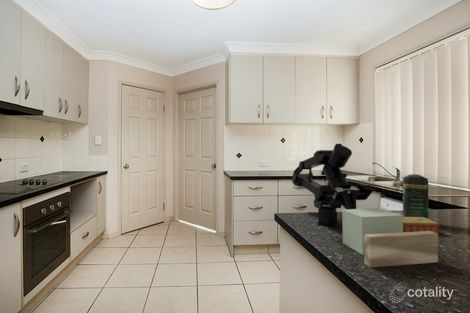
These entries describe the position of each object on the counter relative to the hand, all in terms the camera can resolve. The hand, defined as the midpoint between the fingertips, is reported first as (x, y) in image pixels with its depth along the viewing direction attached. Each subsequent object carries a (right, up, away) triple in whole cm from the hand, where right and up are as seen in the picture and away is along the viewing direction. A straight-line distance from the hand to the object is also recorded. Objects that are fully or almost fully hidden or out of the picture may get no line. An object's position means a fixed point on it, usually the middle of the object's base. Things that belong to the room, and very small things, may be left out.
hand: (354, 214), depth 77 cm
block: (+1, -8, -7) cm, 11 cm away
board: (+3, -7, -18) cm, 19 cm away
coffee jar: (+32, -7, +17) cm, 37 cm away
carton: (+22, -8, +8) cm, 25 cm away
